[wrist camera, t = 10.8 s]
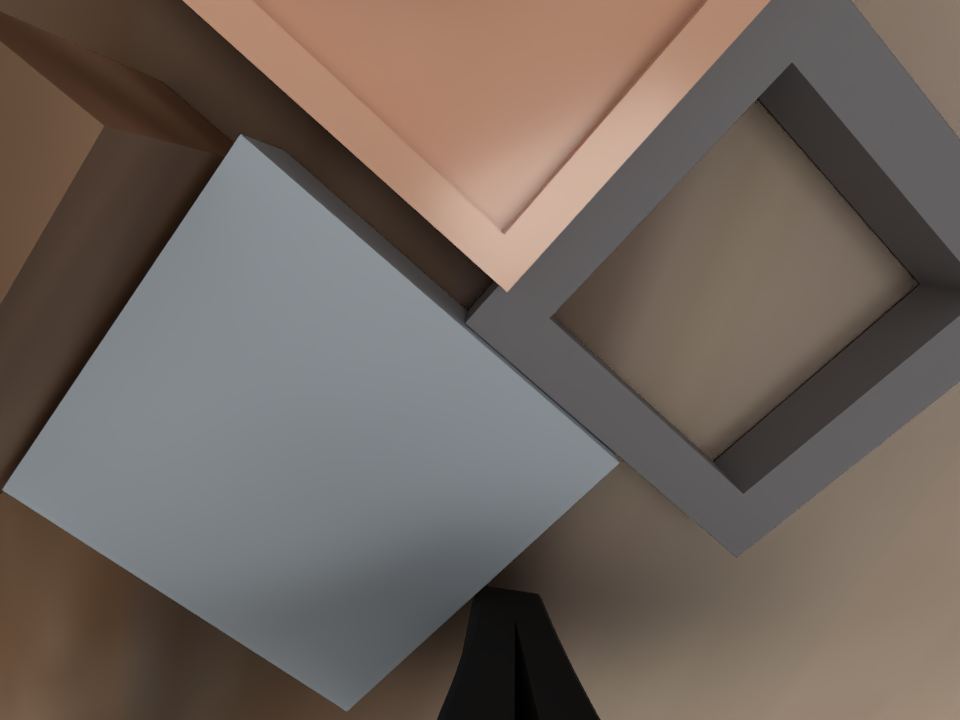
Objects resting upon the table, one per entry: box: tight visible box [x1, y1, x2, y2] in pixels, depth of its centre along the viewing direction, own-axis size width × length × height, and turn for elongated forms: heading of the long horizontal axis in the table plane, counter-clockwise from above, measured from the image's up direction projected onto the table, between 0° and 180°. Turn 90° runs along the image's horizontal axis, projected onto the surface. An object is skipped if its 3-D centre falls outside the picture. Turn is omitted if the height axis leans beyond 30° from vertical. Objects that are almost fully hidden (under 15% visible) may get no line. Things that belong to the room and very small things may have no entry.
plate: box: [2, 134, 619, 711], centre depth 9 cm, size 8×8×2 cm
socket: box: [465, 0, 960, 557], centre depth 8 cm, size 7×7×1 cm
